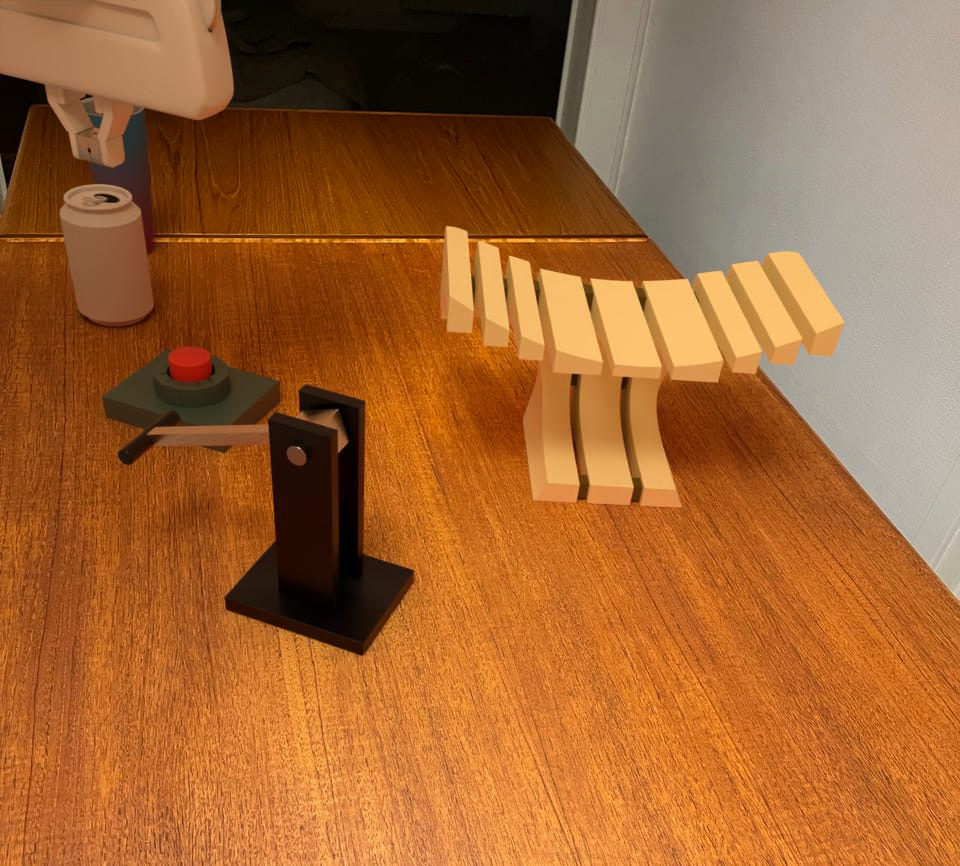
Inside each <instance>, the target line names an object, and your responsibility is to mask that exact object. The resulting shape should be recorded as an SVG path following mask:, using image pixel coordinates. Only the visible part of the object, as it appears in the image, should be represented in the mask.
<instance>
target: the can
mask: <svg viewBox="0 0 960 866" xmlns="http://www.w3.org/2000/svg"><path fill="white" fill-rule="evenodd" d="M63 202H64V204H63V205H62V207H61V208H60V209H59V220H60V225H61V230H62V234H63V241H64V245H65V250H66V255H67V260H68V261H67V262H68V266H69V271H70V277H71V281H72V286H73V291H74V296H75V302H76V307H77V310H78V312H79V313H80V314H81V315H83V316H84V317H86V318H88V319H89V320H90V321H92V323H95V324H98V325H101V326H106V327H124V326H129V325H133V324H136V323H139V322H141V321H142V320H144V319H145V318H146V317H147V315H149V314H150V313H151V311H152V310H153V309H154V307H155V305H154V304H155V303H154V295H153V289H152V288H153V287H152V282H151V280H152V279H151V273H150V266H149V260H148V259H149V258H148V254H147V251H146V244H145V237H144V230H143V223H142V215H141V209H140V208H139V207H138V206H137V205H136V204H135V203H134V202H132V194H131V193H130V192H129V191H127V190H125V189H123V188H121V187H117V186H113V185H105V184H94V183H92V184H84V185H79V186H76V187H73V188H71V189H69V190H67V192H65V193H64V194H63Z"/></svg>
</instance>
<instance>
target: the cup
mask: <svg viewBox="0 0 960 866" xmlns="http://www.w3.org/2000/svg"><path fill="white" fill-rule="evenodd" d="M80 101H81V103H82V104H83V106H84V108H85V110H86V112H87V114H88V116H89V118H90V120H91V122H92V124H93V126H94V127H95V128H99V129H100V126H101V122H102V119H103V114H99V113H97V112H96V111H95V106H94V100H93V96H91V97H87V98H84V99H80ZM145 110H146V108H143V107H139V106H135V105H133V111H132V114H131V116H130V119H129V121H128V124H127V126H126V129H125V131H124V134H123V135H122V139H123V146H124V154H125V159H124V162H123V163H122V164H120V165H118V166H116V167H114V168H112V167H108V166H104V165H100V164H96V163H94V162H89V161H88V164H89V170H90V173H91V177H92V182H93V184H105V185H113V186H117V187H121V188H123V189H125V190H127V191H129V192H130V193H131V194H132V202H134V203H135V204H136V205H137V206H138V207H139V208H140V209H141V215H142V223H143V230H144V237H145V244H146V251H147V255H149V254H151V253H152V252H154V250H155V236H154V222H153V210H152V209H153V208H152V195H151V179H150V167H149V153H148V152H149V151H148V140H147V125H146V111H145Z"/></svg>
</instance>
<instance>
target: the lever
mask: <svg viewBox="0 0 960 866" xmlns="http://www.w3.org/2000/svg"><path fill="white" fill-rule="evenodd" d="M294 417H295V418H299V419H302V420H305V421H309V422H312V423H316V424H319V425H323V426H326V427H330V428H333V429H336V430H338V453H339V452H340V451H341V450H342V449H343V448H344V447H345V445H346V444H347V443H348V442H349V440H348V437H347V434H346V431H345V427H344V424H343V421H342V418H341V415H340V411H339V409H321V410H302V411H301V412H300V413H299V412H298V414H297V415H296V416H294ZM180 423H181V417H180V415H179V414H178V413H177V412H176V411H174V410H169V411H167V412H166V413H165V414H164V415H162V416H161V417H160V418H159V419H157V420H156V421H155V422H154V423H153V424H151V425H150V426H149V427H148V428H146V429H143V431H141V432H140V433H139V434H138V435H136V436H135V437H134V438H133V439H131V441H129V442H128V443H127V444H125V445H124V446H123V447H122V448H120V449H119V450H118V451H117V458H118V460H119V461H120V462H121V463H122V464H123V465H126V466H131V465H134V463H135V462H136V461H137V460H139V459H140V458H141V457H142V456H144V455H145V454H146V453H147V452H148V451H150V450H151V449H152V448H155V447H161V448H163V447H201V446H232V447H235V446H270V443H269V428H268V423H266V424H256V425H222V426H180V427H177V426H178V425H179V424H180Z"/></svg>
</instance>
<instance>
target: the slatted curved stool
mask: <svg viewBox="0 0 960 866" xmlns="http://www.w3.org/2000/svg"><path fill="white" fill-rule="evenodd" d="M443 236H444V238H443V251H442V263H441V265H442V266H441V277H440V278H441V280H440V294H439V295H440V296H439V297H440V298H439V300H440V301H439V302H440V303H439V305H440V320H444V319H445V320H446V332H447V333H460V334H461V333H462V334H473V328H474V327H473V325H474V318H475V319H479V321H480V328H481V329H480V330H481V337H482V338H481V339H482V346H483V347H484V346H485V347H499V348H500V347H502V348H508V347H509V339H510V333H511V331H510V326H511V327H512V330H513V334H514V339H515V346H516V352H517V357H518V358H517V359H518V360H524V361H525V360H526V361H537V373H536V378H535V383H534V386H533V389H532V392H531V394H530V398H529V400H528V403H527V406H526V408H525V411H524V415H523V418H522V427H523V433H524V434H523V436H524V442H525V451H526V457H527V458H526V459H527V465H528V473H529V479H530V487H531V494H532V495H531V496H532V501H535V502H555V503H572V504H573V503H574V504H576V503H578V499H585V501H586V504H593V505H594V504H595V505H612V506H613V505H615V506H631V501H632V502H638V503H639V506H640V507H654V508H655V507H656V508H672V509H673V508H675V509H676V508H677V509H683V506H682V505H683V504H682V502H681V499H680V496H679V492H678V489H677V486H676V484H675V479H674V477H673V474H672V470H671V467H670V464H669V461H668V458H667V455H666V451H665V448H664V445H663V440H662V436H661V433H660V427H659V422H658V415H657V414H658V412H657V403H658V402H657V401H658V394H659V390H660V388H661V384H662V382H663V381H664V378H665V376H666V375H667V374H668V376H669V378H670V380H672V381H687V382H703V383H719V378H720V375H721V372H722V369H723V365H724V358H725V360H726V363H727V364H728V367H729V369H730V370H731V373H736V374H737V373H738V374H752V375H756V374H757V371H758V368H759V363H760V361H761V357H762V354H763V353H764V355H765V356H766V358H767V360H768V362H769V364H770V365H782V366H783V365H786V366H794V365H795V363H796V361H797V357H798V354H799V351H800V347H801V345H802V346H803V347H804V349H805V351H806V352H807V354H808V355H809V356H819V357H833V356H834V353H835V351H836V348H837V345H838V343H839V340H840V337H841V334H842V331H843V328H844V326H845V320H844V319H843V317H842V316H841V315H840V313H839V311H838V310H837V309H836V307H835V306H834V303H833V302H832V301H831V299H830V298H829V296H828V295H827V292H825V289H824V288H823V287H822V285H821V283H820V282H819V281H818V280H817V278H816V276H815V275H814V273H813V272H812V269H810V267H809V265H808V264H807V262H806V261H805V259H804V258H803V256H802V255H801V254H800V253H799V252H797V251H775V252H769V253H767V254H766V256H764V258H763V260H762V262H761V264H760V262H759V260H753V261H745V262H740V263H733V264H731V265H730V267H729V269H728V271H727V273H726V276H725V274H724V272H723V270H716V271H708V272H699V273H697V274H696V275H695V278H694V280H693V283H692V285H691V282H690V281H689V279H688V278H681V279H664V280H643V281H642V282H641V285H640V287H635V285H634V282H633V280H612V279H601V278H592V277H591V278H590V279H589V282H588V283H583V280H582V277H581V276H578V275H573V274H568V273H562V272H557V271H553V270H549V269H544V268H539V269H538V270H539V271H538V274H537V278H536V280H534V279H533V274H532V268H531V263H530V261H528V260H526V259H522V258H519V257H515V256H512V255H509V256H508V259H507V263H506V268H505V277H504V278H503V269H502V263H501V256H500V248H499V247H498V246H495V245H492V244H491V243H486V242H484V241H481V240H477V243H476V249H475V256H474V266H473V275H472V271H471V270H472V269H471V262H470V259H471V258H470V250H469V249H470V247H469V234H468V231H467V230H466V229H462V228H460V227H456V226H451V225H450V226H449V225H446V226H445V227H444V235H443ZM723 356H724V358H723ZM573 440H574V443H573ZM574 446H575V450H576V455H577V460H578V465H579V471H580V474H578V469H577V468H578V467H577V463H576V457H575V450H574Z"/></svg>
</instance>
